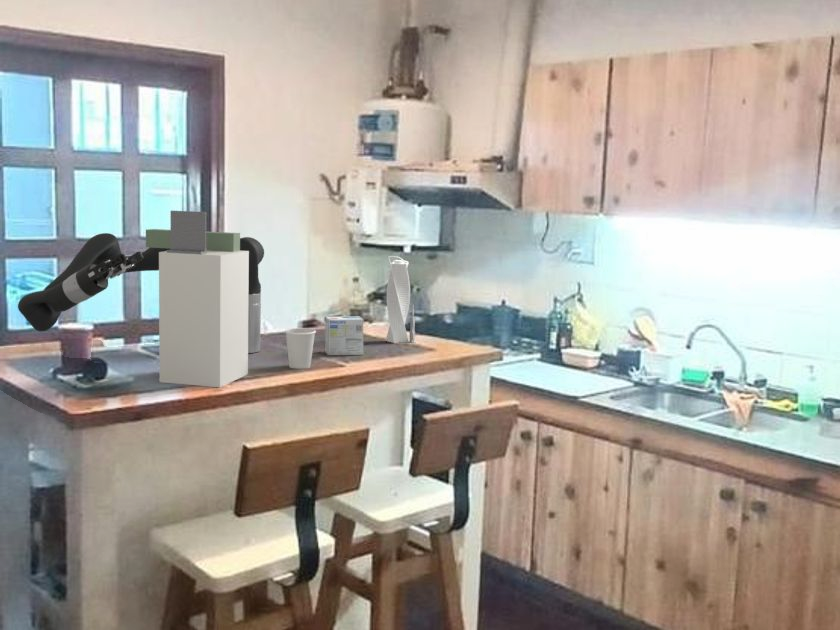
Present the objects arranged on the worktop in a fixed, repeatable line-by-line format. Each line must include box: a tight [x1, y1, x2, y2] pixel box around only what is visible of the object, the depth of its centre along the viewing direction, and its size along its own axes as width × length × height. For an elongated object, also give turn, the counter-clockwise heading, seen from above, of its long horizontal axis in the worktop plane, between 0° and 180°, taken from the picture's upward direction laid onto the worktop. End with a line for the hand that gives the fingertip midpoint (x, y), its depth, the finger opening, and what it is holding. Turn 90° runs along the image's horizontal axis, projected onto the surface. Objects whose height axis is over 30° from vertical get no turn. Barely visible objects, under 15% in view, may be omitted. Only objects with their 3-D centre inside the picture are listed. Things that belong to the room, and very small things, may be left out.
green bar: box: [145, 228, 241, 252], centre depth 241 cm, size 4×24×4 cm, turn 77°
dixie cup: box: [284, 327, 317, 370], centre depth 257 cm, size 8×8×10 cm
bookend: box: [167, 210, 207, 254], centre depth 228 cm, size 3×9×10 cm, turn 77°
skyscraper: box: [385, 255, 416, 346], centre depth 301 cm, size 8×8×28 cm
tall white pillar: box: [158, 250, 249, 388], centre depth 237 cm, size 17×16×32 cm
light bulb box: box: [324, 315, 364, 356], centre depth 280 cm, size 11×7×11 cm, turn 105°
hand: (133, 255), depth 246 cm, fingers open, 8 cm apart
